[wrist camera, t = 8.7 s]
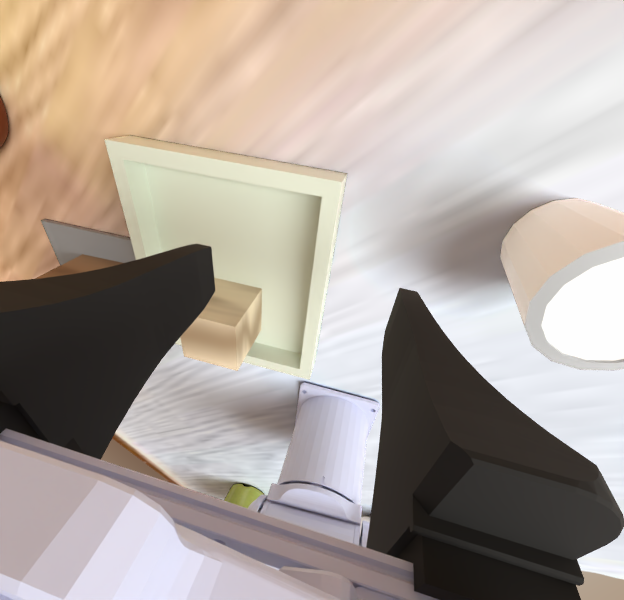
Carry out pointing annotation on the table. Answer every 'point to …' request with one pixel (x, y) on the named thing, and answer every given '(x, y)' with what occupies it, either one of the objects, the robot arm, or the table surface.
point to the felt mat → (86, 243)
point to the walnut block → (80, 266)
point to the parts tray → (240, 231)
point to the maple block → (225, 325)
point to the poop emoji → (3, 123)
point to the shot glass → (570, 281)
